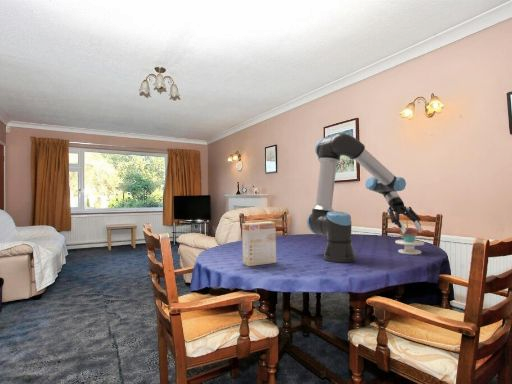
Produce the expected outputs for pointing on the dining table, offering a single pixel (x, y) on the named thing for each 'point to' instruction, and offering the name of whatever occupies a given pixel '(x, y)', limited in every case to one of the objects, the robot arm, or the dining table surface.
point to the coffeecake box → (259, 243)
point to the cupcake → (409, 234)
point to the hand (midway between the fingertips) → (413, 231)
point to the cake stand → (409, 247)
